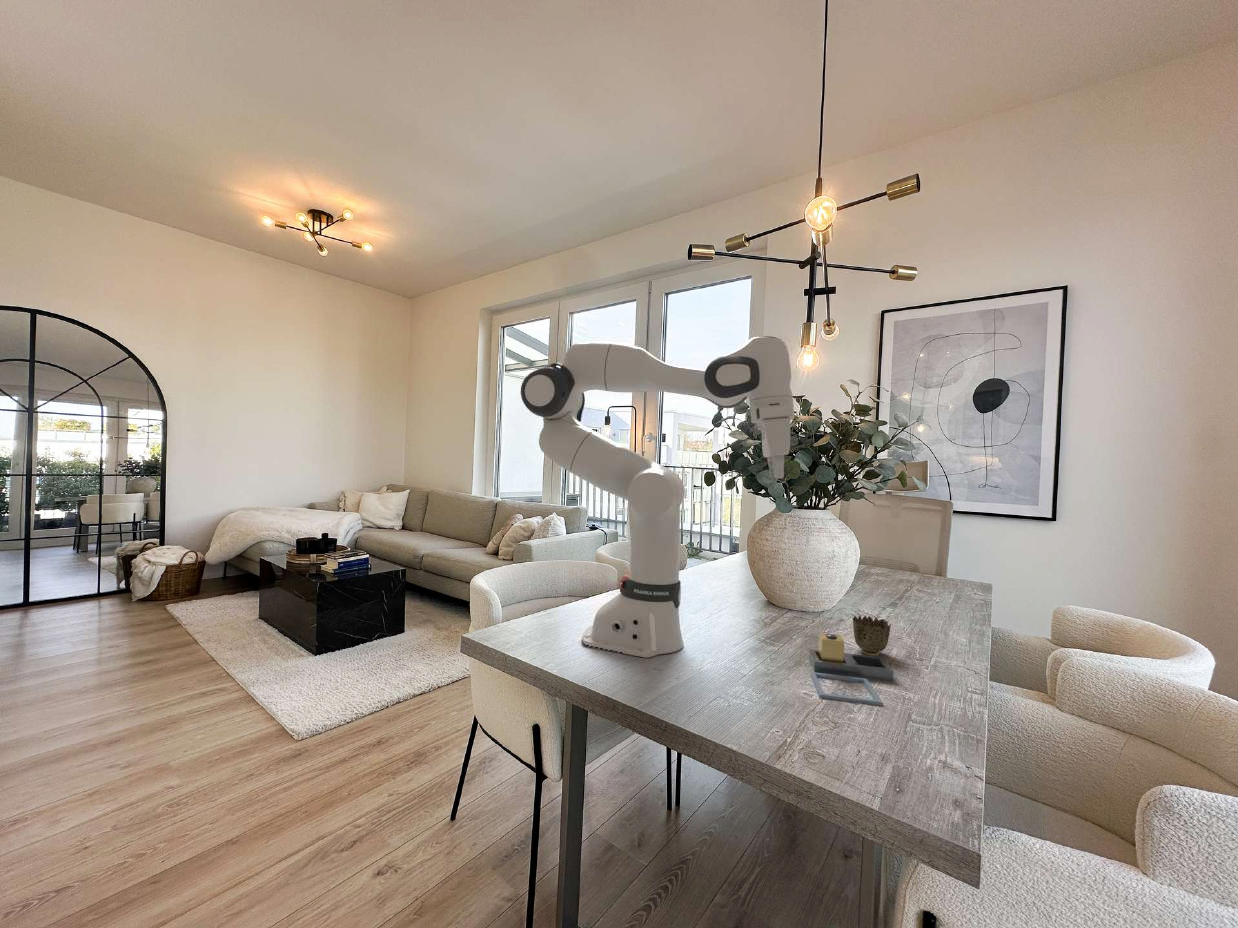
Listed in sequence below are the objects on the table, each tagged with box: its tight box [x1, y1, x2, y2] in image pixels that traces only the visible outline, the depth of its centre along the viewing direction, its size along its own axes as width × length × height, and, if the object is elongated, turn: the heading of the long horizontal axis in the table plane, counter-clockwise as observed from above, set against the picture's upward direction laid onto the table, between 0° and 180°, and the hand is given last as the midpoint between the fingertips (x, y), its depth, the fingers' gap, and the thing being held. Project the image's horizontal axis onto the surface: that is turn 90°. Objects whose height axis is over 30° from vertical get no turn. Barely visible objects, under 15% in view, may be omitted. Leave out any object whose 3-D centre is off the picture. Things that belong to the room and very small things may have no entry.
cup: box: [852, 615, 892, 657], centre depth 111 cm, size 8×7×8 cm
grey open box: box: [808, 648, 895, 682], centre depth 100 cm, size 14×7×3 cm, turn 78°
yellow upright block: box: [817, 632, 845, 663], centre depth 101 cm, size 4×4×6 cm
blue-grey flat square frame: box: [809, 671, 884, 707], centre depth 91 cm, size 10×10×2 cm
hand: (776, 478), depth 108 cm, fingers open, 8 cm apart
